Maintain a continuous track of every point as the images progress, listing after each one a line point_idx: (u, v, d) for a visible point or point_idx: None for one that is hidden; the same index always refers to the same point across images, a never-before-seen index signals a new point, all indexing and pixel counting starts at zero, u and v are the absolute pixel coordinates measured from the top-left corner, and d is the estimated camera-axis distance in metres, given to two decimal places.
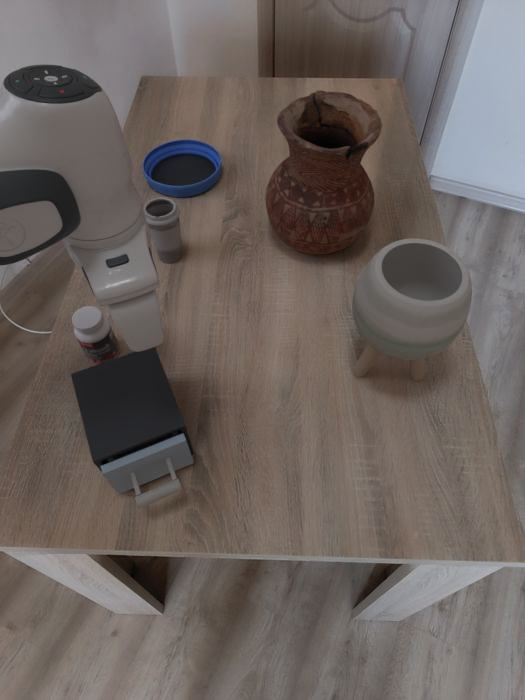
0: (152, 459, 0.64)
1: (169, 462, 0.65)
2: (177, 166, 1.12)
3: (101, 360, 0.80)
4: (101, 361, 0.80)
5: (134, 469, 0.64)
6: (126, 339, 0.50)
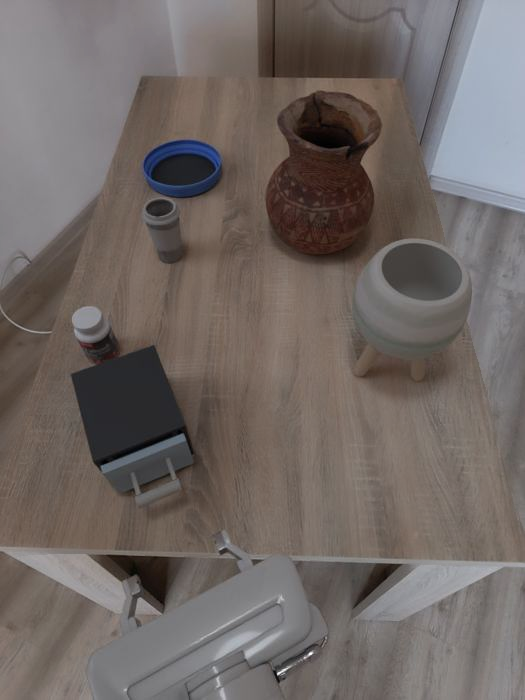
0: (152, 459, 0.64)
1: (169, 462, 0.65)
2: (177, 166, 1.12)
3: (101, 360, 0.80)
4: (101, 361, 0.80)
5: (134, 469, 0.64)
6: (92, 697, 0.39)
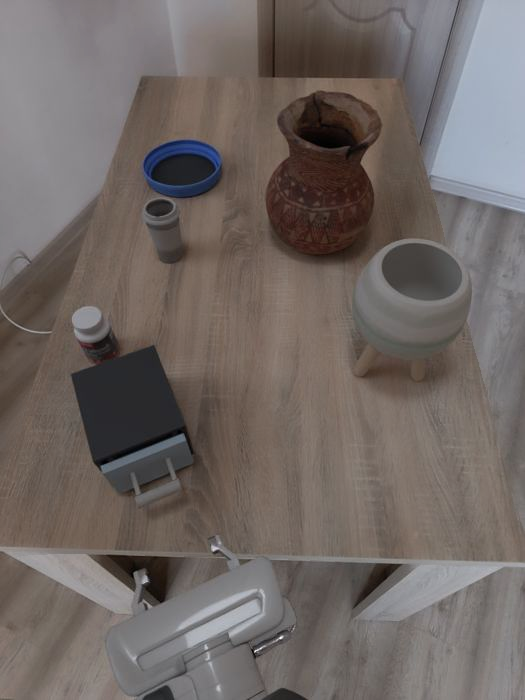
0: (152, 459, 0.64)
1: (169, 462, 0.65)
2: (177, 166, 1.12)
3: (101, 360, 0.80)
4: (101, 361, 0.80)
5: (134, 469, 0.64)
6: (110, 662, 0.50)
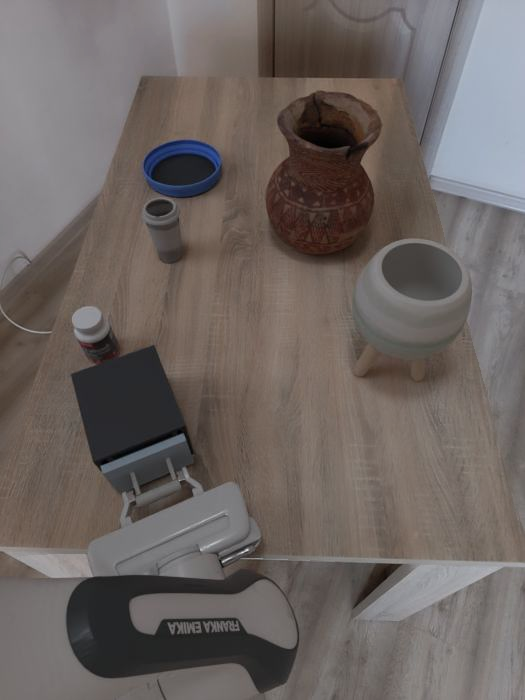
0: (152, 459, 0.64)
1: (169, 462, 0.65)
2: (177, 166, 1.12)
3: (101, 360, 0.80)
4: (101, 361, 0.80)
5: (134, 469, 0.64)
6: None
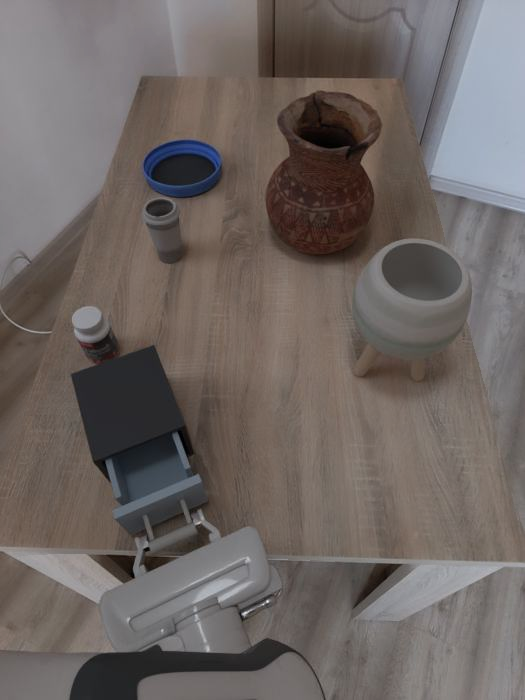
0: (166, 502, 0.61)
1: (184, 504, 0.62)
2: (177, 166, 1.12)
3: (101, 360, 0.80)
4: (101, 361, 0.80)
5: (147, 512, 0.61)
6: (103, 624, 0.53)
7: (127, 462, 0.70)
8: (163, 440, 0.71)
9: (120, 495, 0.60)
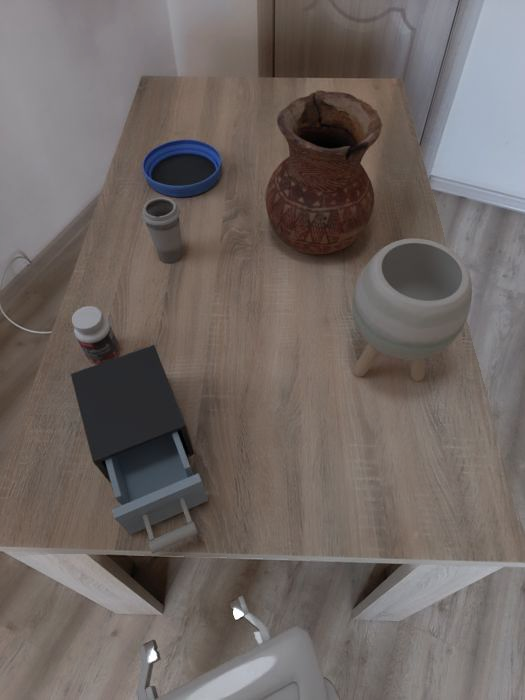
0: (166, 501, 0.61)
1: (183, 503, 0.62)
2: (177, 166, 1.12)
3: (101, 360, 0.80)
4: (101, 361, 0.80)
5: (147, 512, 0.61)
6: None
7: (127, 461, 0.70)
8: (163, 439, 0.72)
9: (120, 494, 0.60)
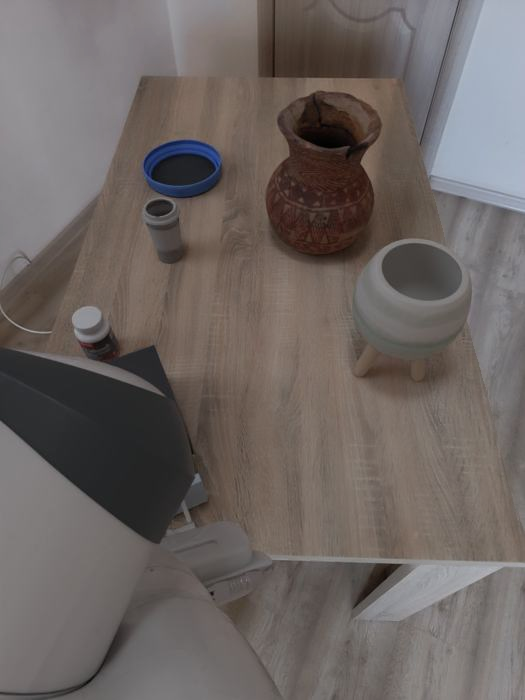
0: None
1: (183, 503, 0.62)
2: (177, 166, 1.12)
3: (101, 360, 0.80)
4: (101, 361, 0.80)
5: None
6: None
7: None
8: None
9: None
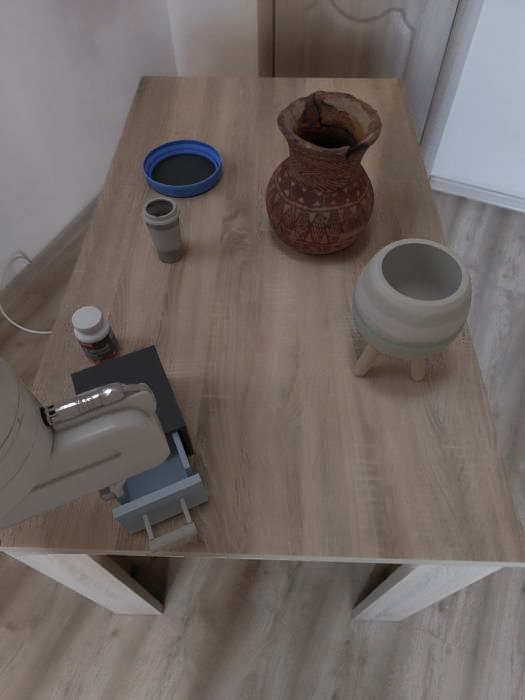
0: (166, 501, 0.61)
1: (183, 503, 0.62)
2: (177, 166, 1.12)
3: (101, 360, 0.80)
4: (101, 361, 0.80)
5: (147, 512, 0.61)
6: None
7: None
8: None
9: None
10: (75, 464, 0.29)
